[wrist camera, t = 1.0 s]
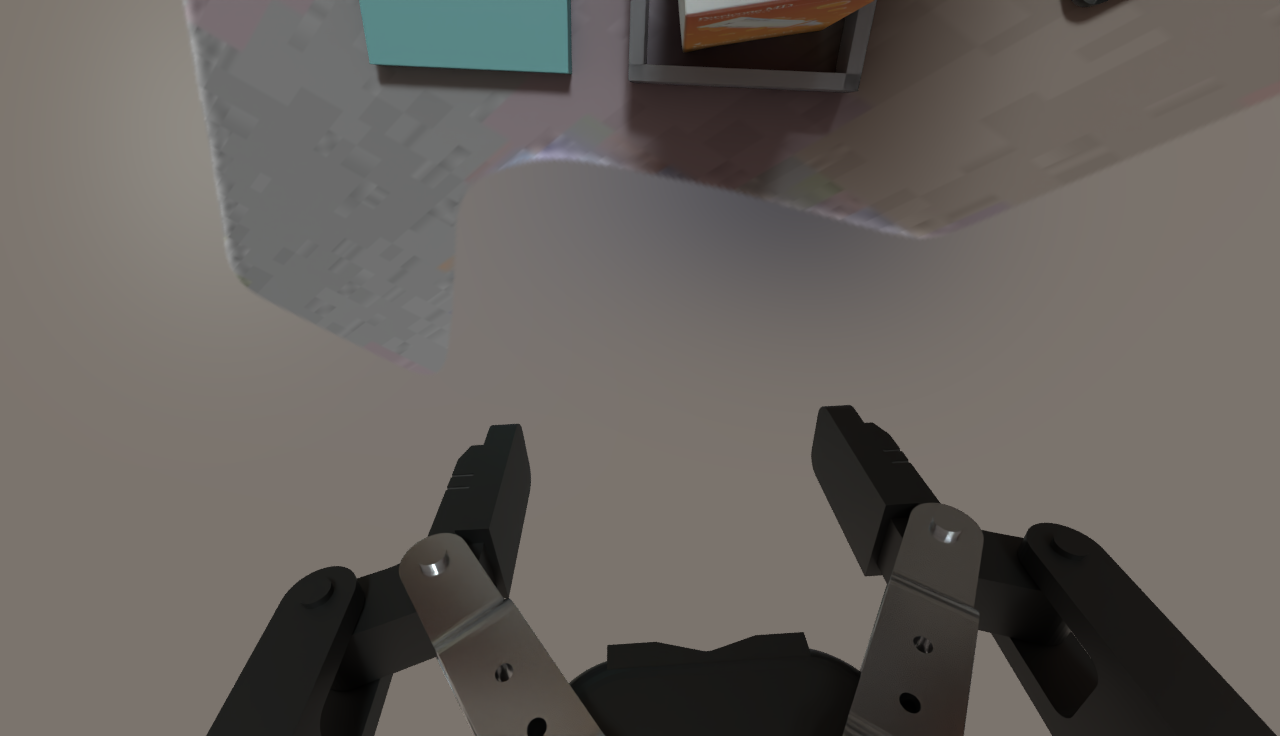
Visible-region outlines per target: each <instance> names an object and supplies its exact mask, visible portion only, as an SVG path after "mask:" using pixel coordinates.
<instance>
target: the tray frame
mask: <svg viewBox="0 0 1280 736" xmlns="http://www.w3.org/2000/svg"><path fill="white" fill-rule="evenodd" d="M876 2H877V0H874V1H873V2H871V3H869V4H867V5H865V6H864V7H862V8H860V9H858V10H856V11H855V12H853V13H851V14H849V15H848V16H846V17H845V22H844V27H843V32H842V37H841V43H840V48H839V53H838V59H837V64H836V69H835V73H825V72H803V71H781V70H759V69H736V68H714V67H692V66H670V65H647V42H648V18H649V0H631V7H630V41H629V75H628V80H629V81H630V82H632V83H651V84H672V85H694V86H715V87H736V88H758V89H779V90H800V91H822V92H843V93H846V92H854V91H858V88H859V83H860V78H861V73H862V69H863V64H864V59H865V54H866V50H867V45H868V40H869V35H870V31H871V26H872V21H873V16H874V12H875V7H876Z"/></svg>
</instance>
